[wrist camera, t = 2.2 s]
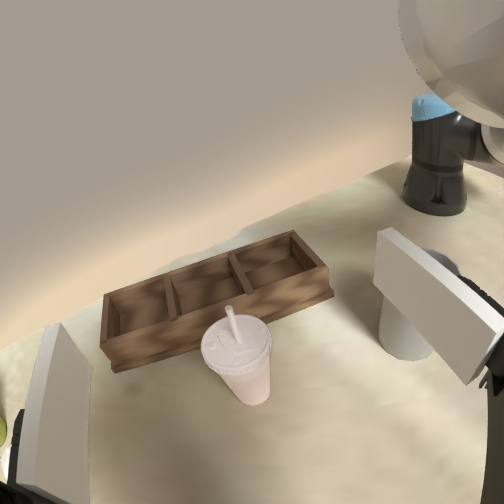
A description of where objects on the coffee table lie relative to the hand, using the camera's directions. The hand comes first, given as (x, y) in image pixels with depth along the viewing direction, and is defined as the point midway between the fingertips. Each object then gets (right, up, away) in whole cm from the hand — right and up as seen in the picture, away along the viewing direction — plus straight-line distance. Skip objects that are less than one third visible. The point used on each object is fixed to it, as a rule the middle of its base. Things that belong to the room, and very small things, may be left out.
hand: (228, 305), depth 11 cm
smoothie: (+1, -14, +20) cm, 24 cm away
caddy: (-5, -6, +32) cm, 33 cm away
